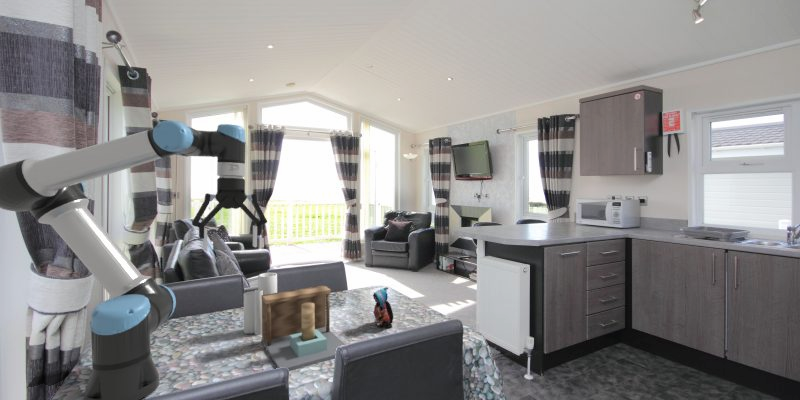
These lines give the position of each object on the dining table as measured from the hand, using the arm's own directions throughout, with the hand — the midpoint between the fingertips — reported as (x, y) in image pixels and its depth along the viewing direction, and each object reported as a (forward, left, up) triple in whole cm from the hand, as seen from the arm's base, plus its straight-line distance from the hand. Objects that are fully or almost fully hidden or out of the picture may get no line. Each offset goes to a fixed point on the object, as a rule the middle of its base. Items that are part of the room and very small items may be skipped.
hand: (230, 248), depth 107 cm
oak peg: (+21, -8, -33) cm, 40 cm away
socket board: (+21, -5, -34) cm, 40 cm away
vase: (+12, +17, -34) cm, 40 cm away
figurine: (+51, -3, -34) cm, 61 cm away
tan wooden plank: (+21, +4, -34) cm, 40 cm away
